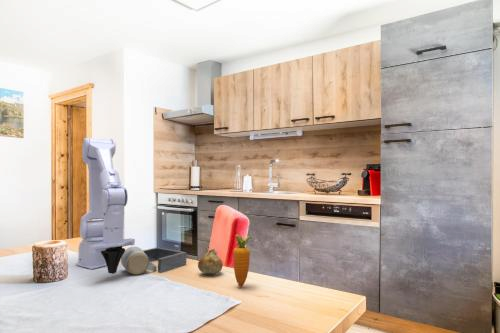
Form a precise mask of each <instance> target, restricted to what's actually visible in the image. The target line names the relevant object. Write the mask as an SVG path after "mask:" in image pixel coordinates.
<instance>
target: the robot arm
mask: <svg viewBox="0 0 500 333" xmlns="http://www.w3.org/2000/svg"><path fill="white" fill-rule="evenodd" d="M116 145H117V144H116V142H115V140H114V139H113V138H111V139H106V138H95V137H84V139H83V140H82V145H81V147H82V148H81V157H82V162H83V163H85V164H86V165H87V169H88V197H89V198H88V203H89V206H88V207H89V209H88V211H87V213H86V212H85V214H84V215H82V216H81V218H80V224H79V236H80V238H81V239H82V240H81V241H80V242H79V245H78V255H77V256H78V258H77V259H78V260H77V261H78V262H76V263H75V266H78V267H82V268H86V269H90V270H94V269H98V268H102V267H106V268H107V272H108V274H111V275H112V274H116V273H117V271H118V267H119V266H120V265H119V264H120V262H121V257H122V255H123V254H124V252H125V250H126V249H125V248H123V247H128V246H134V245H135V238H131V237H130V238H124V230H125V229H124V228H125V224H124V223H125V207H126V206H127V203H128V190H127V188H126V187H125V186H124V185H122V182H121V179H120V174H119V172H118V171H117V170H116V169H114V164H113V158H114V155H115V154H116V150H117V149H116V148H117V146H116Z"/></svg>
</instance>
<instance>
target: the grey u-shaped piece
mask: <svg viewBox="0 0 500 333" xmlns="http://www.w3.org/2000/svg"><path fill="white" fill-rule="evenodd" d="M142 250H143V249H142ZM143 252H144V253H145V254H146V255H147V257H148V259H149V262H151V263H153V262H155V261H157V273H158V274H162V273H165V272H168V271H172V270H174V269H177V268H180V267H185V266H187V255H188V254H187V251H182V250H175V249H169V248H164V247H159V246H157V247H153V248H148V249H144V250H143Z"/></svg>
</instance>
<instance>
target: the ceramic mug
mask: <svg viewBox="0 0 500 333" xmlns="http://www.w3.org/2000/svg"><path fill="white" fill-rule="evenodd" d="M120 262H121V266H122V268H124V269H125V270H126V271H127V272H128V274H129V273H130V274H131V275H134V276H136V275H141V274H143V273H145V272H146V271H147V270H148V271H152V272H155V271H156V269H158V265H156V264H155V263H154V262H149V259H148V257H147V255H146V254H145V253H144V252H143V249H142V248H140V247H138V246H130V247H127V248H126V249H125V252H124V254H123V255H122V257H121V259H120Z"/></svg>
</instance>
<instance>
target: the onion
mask: <svg viewBox="0 0 500 333" xmlns="http://www.w3.org/2000/svg"><path fill="white" fill-rule="evenodd" d="M223 267H224V265H223V260H222V259H221V258H220V257H219V256H218V251H217V250H215V248H211V249H210V250H209V251H207V253H205V255H203V256H202V257H201V258H200V259H199V260H198V262H197V268H198V270H199V271H200V273H202V274H204V275H205V276H215V275H217V274H219V273H220V272H221V271H222V269H223Z"/></svg>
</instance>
